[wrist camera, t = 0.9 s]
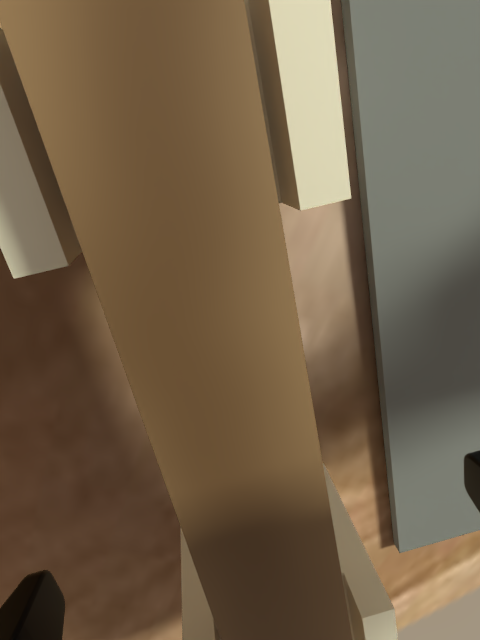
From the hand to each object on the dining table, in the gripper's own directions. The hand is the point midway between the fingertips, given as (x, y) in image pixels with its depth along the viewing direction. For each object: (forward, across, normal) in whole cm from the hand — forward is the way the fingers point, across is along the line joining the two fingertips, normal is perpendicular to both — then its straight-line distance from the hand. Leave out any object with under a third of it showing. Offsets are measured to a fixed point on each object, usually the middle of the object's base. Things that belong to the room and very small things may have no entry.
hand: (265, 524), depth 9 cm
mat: (+8, -10, 0) cm, 13 cm away
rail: (+3, 0, 0) cm, 3 cm away
